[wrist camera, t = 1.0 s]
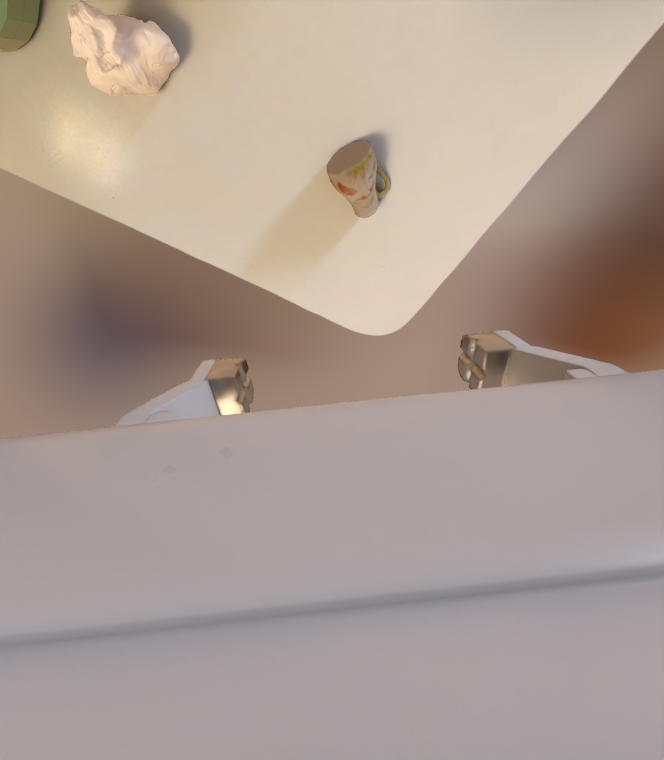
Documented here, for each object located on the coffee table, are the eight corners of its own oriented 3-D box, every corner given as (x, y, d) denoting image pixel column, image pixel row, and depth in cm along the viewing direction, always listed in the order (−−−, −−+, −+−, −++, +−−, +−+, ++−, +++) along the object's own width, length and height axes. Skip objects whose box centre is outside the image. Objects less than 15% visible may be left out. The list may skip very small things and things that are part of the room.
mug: (352, 224, 54) (330, 219, 45) (341, 161, 51) (315, 142, 42) (394, 211, 50) (378, 202, 42) (385, 143, 47) (366, 119, 39)
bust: (185, 37, 40) (105, -77, 29) (200, 97, 41) (128, 8, 30) (113, 76, 43) (15, -14, 32) (128, 132, 43) (37, 63, 32)
